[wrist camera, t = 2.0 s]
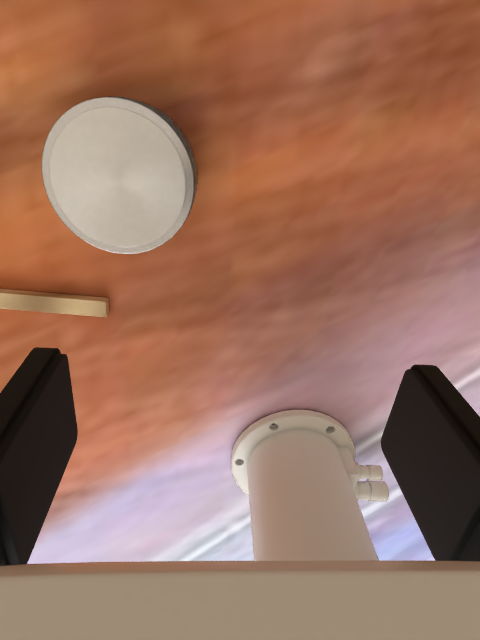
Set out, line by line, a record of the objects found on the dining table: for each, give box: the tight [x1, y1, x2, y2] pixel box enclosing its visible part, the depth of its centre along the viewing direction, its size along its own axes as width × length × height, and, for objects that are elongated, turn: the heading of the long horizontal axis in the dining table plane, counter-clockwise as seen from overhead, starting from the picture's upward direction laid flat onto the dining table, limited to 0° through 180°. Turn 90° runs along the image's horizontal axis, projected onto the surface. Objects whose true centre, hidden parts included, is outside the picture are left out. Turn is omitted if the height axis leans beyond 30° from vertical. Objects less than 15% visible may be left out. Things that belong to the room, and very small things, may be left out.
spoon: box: [0, 289, 109, 317], centre depth 31 cm, size 14×4×1 cm, turn 83°
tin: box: [42, 97, 198, 254], centre depth 26 cm, size 9×9×5 cm
